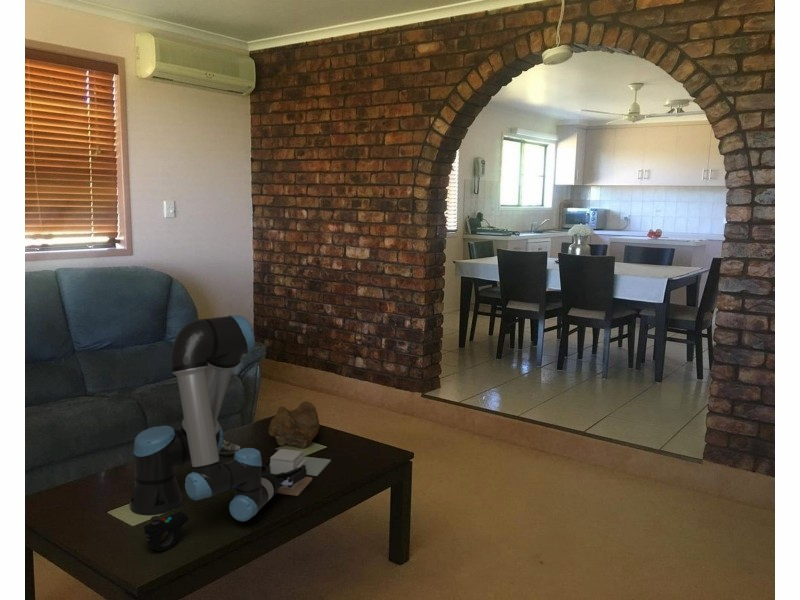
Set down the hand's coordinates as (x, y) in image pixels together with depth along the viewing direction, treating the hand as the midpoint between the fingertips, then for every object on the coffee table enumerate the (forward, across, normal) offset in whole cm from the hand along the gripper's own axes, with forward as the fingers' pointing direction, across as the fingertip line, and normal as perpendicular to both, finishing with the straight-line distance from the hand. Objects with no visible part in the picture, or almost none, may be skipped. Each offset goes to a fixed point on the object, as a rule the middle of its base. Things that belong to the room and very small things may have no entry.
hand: (292, 461), depth 220 cm
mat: (+12, 0, -6) cm, 14 cm away
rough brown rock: (+33, -11, -7) cm, 36 cm away
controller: (-51, -15, -7) cm, 53 cm away
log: (+17, -33, -7) cm, 38 cm away
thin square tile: (-5, 0, -6) cm, 8 cm away
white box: (-5, 0, -6) cm, 7 cm away
